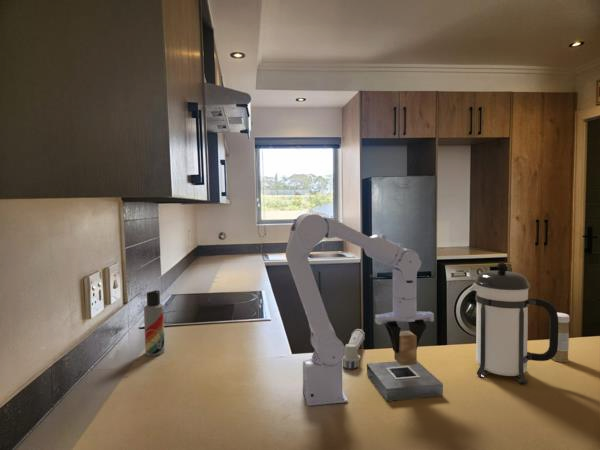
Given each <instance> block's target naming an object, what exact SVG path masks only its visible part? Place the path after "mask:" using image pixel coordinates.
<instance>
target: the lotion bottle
mask: <svg viewBox="0 0 600 450" xmlns="http://www.w3.org/2000/svg"><path fill="white" fill-rule="evenodd" d="M160 293H161V292H160V290H158V289H156V290H151V291H147V292H146V305H144V307H143V318H144V320H143V321H144V348H145V350H144V351H145V355H146V356H148V357H152V356H158V355H162V354H164V353H165V350H166V349H165V321H164V320H165V319H164V304H163V303H161V297H160V295H161V294H160Z"/></svg>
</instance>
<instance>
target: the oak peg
mask: <svg viewBox="0 0 600 450" xmlns="http://www.w3.org/2000/svg"><path fill="white" fill-rule="evenodd" d="M417 350H418V347H417V336H416V335H415V334H413V333H412V332H411V331H410V330H400V335H399V353H396V352H395V351H394V350H393V353H394V358H393V359H394V360H395V361H397V362H398V363H399V364H400V365H414V364H417V361H418V359H417V358H418V357H417V352H418V351H417Z"/></svg>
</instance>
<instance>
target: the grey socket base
mask: <svg viewBox="0 0 600 450" xmlns="http://www.w3.org/2000/svg"><path fill="white" fill-rule="evenodd" d="M366 375H367V376H368V378H369V380H370V381H371V383H372V384H375V385H374V386H375V388H376V389H377V388H378V389H377V390H378V392H379V391H380V392H381V393H380V392H379V393H380V394H381V396H382V395H383V396H382V397H383V398H384V399H386V400H385V401H386V402H393V400H397V401H404V399H407V400H414V399H413V398H417V399H424V398H423V397H427V398H434V397H435V398H437V397H443V396H444V389H443V388H444V384H443V382H442V381H441V380H439V379H438V378H437V377H436V376H435V375H434V374H433V373H431V372H430V371H429V370H428V369H427V368H425V366H423V365H422V364H421V362H419V361H418V360H417V364H414V365H400V364H399V363H398V362H397V361H396V360H395V361H384V362H373V363H372V362H371V363H370V362H369V363H366Z"/></svg>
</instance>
